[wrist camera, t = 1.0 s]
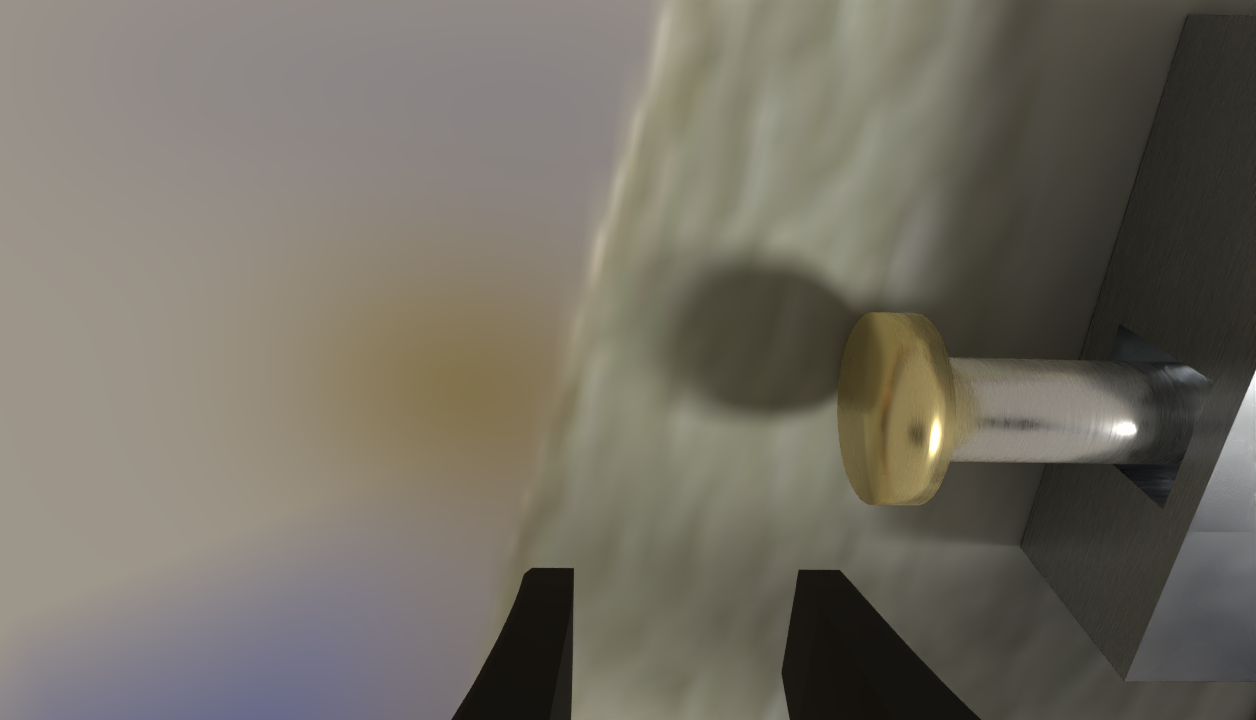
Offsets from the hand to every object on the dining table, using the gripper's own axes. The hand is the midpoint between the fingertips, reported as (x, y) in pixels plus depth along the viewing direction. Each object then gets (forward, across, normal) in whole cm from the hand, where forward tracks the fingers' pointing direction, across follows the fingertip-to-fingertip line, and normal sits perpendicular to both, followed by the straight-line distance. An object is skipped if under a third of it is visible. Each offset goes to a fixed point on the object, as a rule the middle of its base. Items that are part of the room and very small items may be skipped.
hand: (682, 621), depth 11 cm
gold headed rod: (+9, -10, 0) cm, 13 cm away
